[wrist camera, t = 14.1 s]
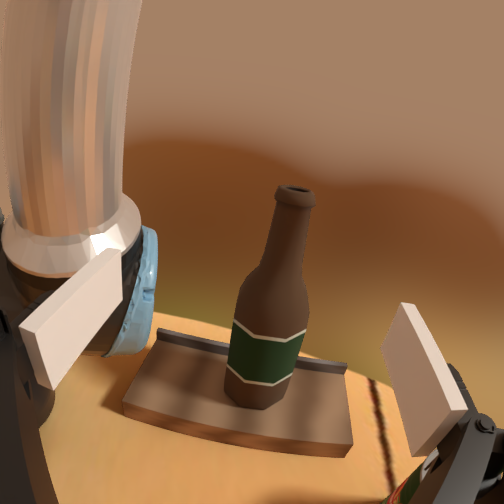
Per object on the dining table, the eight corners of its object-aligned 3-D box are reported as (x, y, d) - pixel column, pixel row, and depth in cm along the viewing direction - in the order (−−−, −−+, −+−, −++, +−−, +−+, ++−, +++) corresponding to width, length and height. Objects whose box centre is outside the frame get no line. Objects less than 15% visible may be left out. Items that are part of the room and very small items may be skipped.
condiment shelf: (124, 416, 32) (120, 392, 30) (159, 351, 44) (158, 326, 42) (344, 457, 31) (358, 437, 29) (336, 384, 43) (346, 362, 41)
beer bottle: (214, 370, 39) (240, 174, 29) (271, 363, 41) (313, 182, 32) (232, 417, 32) (273, 197, 23) (295, 405, 35) (358, 205, 26)
